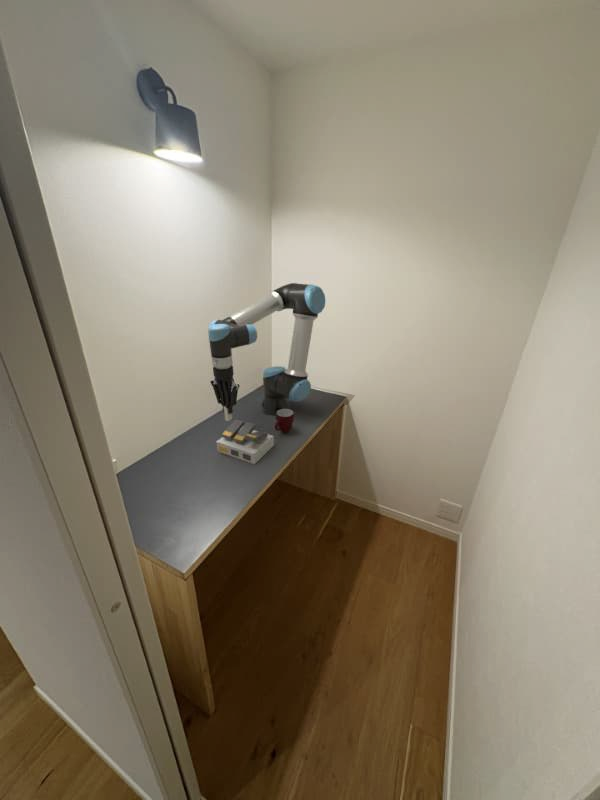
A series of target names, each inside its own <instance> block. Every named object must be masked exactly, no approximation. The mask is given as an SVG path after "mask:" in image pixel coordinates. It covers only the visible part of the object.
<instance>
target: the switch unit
mask: <svg viewBox="0 0 600 800" xmlns="http://www.w3.org/2000/svg"><path fill="white" fill-rule="evenodd" d="M240 430H241V429H240ZM240 430H239V431H240ZM239 431H238V432H239ZM257 431H258V430H255V429H254V430H253V431H252V433H254V432H257ZM238 432H237V433H238ZM236 435H237V434H236ZM236 435H235V436H236ZM235 436H234V437H235ZM234 437H233V438H232V440H230V439H227V438H223V436H222V437H221V438H219V439H218V440H216V441H215V443H216V449H217V452H219V453H220V454H224V455H227V456H228V457H232V458H235V459H238V460H241V461H244V462H247V463H249V464H252V465H255V464H257V462H258V461H260V460H261V458H263V457H264V456H265V454H267V453H268V452H269V451H270V450H271V449H272V448H273V447H274V443H275V440H274V435H272V434H269V433H268V435H267V437H266V438H263V439H261V440H258V441H256V442H252V441H249V440H246V441H245V442H244V443H243V444H242V443H238V442H235V441H234Z"/></svg>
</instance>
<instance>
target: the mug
mask: <svg viewBox="0 0 600 800" xmlns="http://www.w3.org/2000/svg"><path fill="white" fill-rule="evenodd" d="M275 416H276V417H275V418H276V419H275V420H276V422H275V425H274V429H275V430H276V431H278V432H281V433H282V434H288V433H290V431H291V430H292V428H293V423H294V418H295V413H294V411H293V409H290V408H289V409H280V410H278V411H277V412H276V415H275Z"/></svg>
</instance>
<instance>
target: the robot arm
mask: <svg viewBox="0 0 600 800" xmlns="http://www.w3.org/2000/svg"><path fill="white" fill-rule="evenodd" d="M325 306H326V295H325V293H324V290H323V289H322V287H320V286H318V285H314V284H306V283H297V282H293V283H291V282H290V283H287V284H285V285H282V286H279V287H278V288H276V289H273V290H272V291H270V292H269V293H268V295H267V296H265V297H263V298H262V299H259V300H258V301H256V302H254V303H252V304H250V305H248V306H246V307H244V308H243V309H241V310H239V311H237V312H236V313H233V314H232V315H229V316H227V317H226V318H224V319H213V320H212V321H211V322H210V323H209V325H208V326H209V327H208V343H209V348H210V349H209V350H210V354H211V364H212V371H213V377H214V379H212V380H211V381H210V385H211V386H212V388H213V392H214V394H215V397H216V400H217V401H216V402H217V403H218V404H220V405H221V406H222V413H224V421H226V422H229V421H232V419H233V412H234V410H233V407H234V406H236V405H237V401H238V391H239V389H240V387H241V386H240V384H236V382H235V379H234V367H233V354H232V353H233V352H232V350H233V349H237V348H239V347H244V346H249V345H251V344H254V343H256V342H257V340H258V331H257V329H256V327H255V326H254V324H256V323H258V322H259V321H262V320H263V319H264V318H266V317H268V316H270V315H272V314H274V313H275V312H281V311H283V310H289V309H290V310H292V315H293V316H294V325H293V331H292V339H291V345H290V351H289V357H288V366H287V369H286V367H285V366H278V365H277V366H270V367H267V368H265V369H264V370H263V372H262V383H263V399H262V401H261V406H260V407H261V411H262V413H265V415H271V416H276V412H277V411H278V410H280V409H290V402H289V400H290V401H292V402H297V403H300V402H302V401H304V400H306V398H307V397H308V395H309V394H310V392H311V388H312V384H311V382H310V381H309V380H308V375H309V374H308V373H307V372H306V369H307V364H308V363H307V362H308V358H309V350H310V345H311V339H312V332H313V326H314V321H315V320H316V319H317V318H318V317H319V315H318V314H321V313H322V312H323V310H324V309H325ZM288 399H289V400H288Z"/></svg>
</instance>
